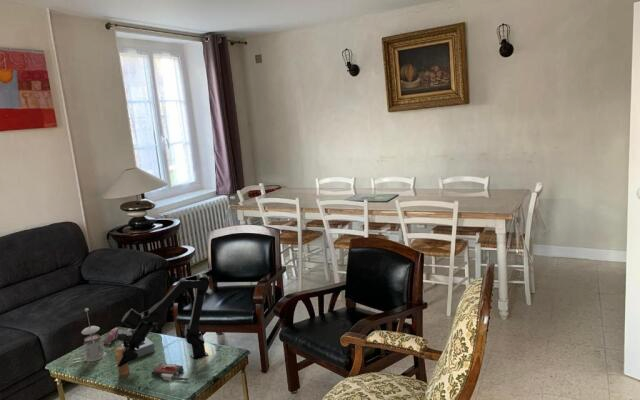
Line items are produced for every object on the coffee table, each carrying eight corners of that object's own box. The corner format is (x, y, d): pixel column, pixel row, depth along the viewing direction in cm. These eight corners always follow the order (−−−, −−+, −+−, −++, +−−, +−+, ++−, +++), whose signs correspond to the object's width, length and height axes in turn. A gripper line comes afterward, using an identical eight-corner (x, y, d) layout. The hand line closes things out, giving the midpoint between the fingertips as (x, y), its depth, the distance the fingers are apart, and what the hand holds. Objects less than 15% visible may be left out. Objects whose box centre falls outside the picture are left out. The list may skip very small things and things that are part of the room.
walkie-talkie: (148, 378, 209) (186, 383, 202) (146, 369, 208) (185, 374, 201) (161, 368, 217) (198, 372, 210) (159, 359, 216) (197, 363, 209)
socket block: (154, 351, 233) (153, 343, 233) (129, 360, 226) (128, 352, 225) (146, 343, 243) (144, 335, 242) (121, 352, 235) (120, 344, 235)
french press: (84, 363, 227) (74, 314, 223) (85, 353, 238) (75, 306, 233) (106, 357, 231) (97, 309, 227) (106, 347, 242) (97, 301, 237)
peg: (131, 374, 213) (126, 348, 211) (121, 378, 211) (116, 352, 208) (128, 371, 217) (123, 345, 214) (118, 375, 214) (113, 349, 212)
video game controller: (110, 347, 246) (114, 335, 245) (102, 344, 246) (106, 332, 244) (118, 338, 256) (122, 326, 254) (110, 335, 255) (114, 323, 254)
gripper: (125, 316, 219) (104, 344, 218) (125, 332, 202) (101, 362, 200) (146, 327, 223) (125, 355, 222) (147, 344, 206) (124, 374, 204)
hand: (118, 361), depth 212 cm, fingers open, 9 cm apart
